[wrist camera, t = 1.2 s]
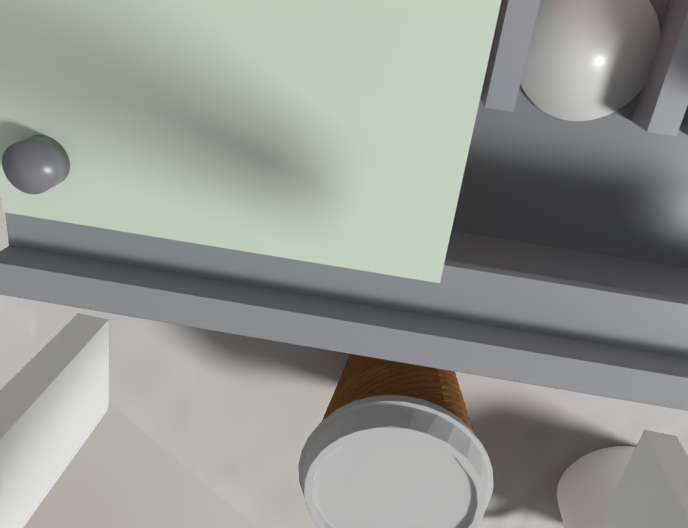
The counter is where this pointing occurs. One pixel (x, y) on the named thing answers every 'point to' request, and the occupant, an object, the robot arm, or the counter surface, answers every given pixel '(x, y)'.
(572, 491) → the cup
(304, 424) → the counter surface
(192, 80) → the lid
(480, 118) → the housing
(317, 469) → the disposable coffee cup
